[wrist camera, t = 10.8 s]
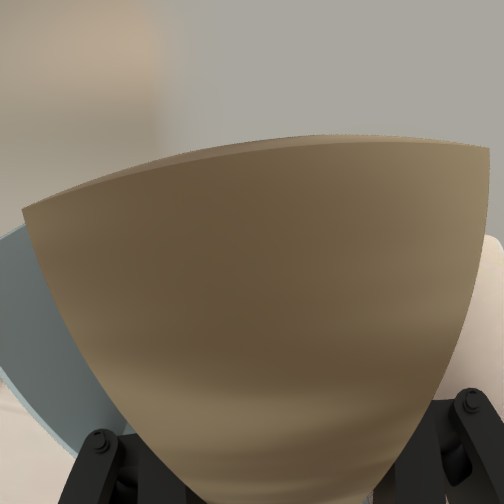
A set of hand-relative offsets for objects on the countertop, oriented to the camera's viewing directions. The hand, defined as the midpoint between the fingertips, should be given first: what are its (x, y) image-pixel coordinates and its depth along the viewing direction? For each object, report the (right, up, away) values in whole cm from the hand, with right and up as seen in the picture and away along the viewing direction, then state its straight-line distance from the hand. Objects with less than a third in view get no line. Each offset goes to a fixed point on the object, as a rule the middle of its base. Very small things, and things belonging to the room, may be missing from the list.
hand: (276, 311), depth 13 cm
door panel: (+1, -10, -2) cm, 10 cm away
